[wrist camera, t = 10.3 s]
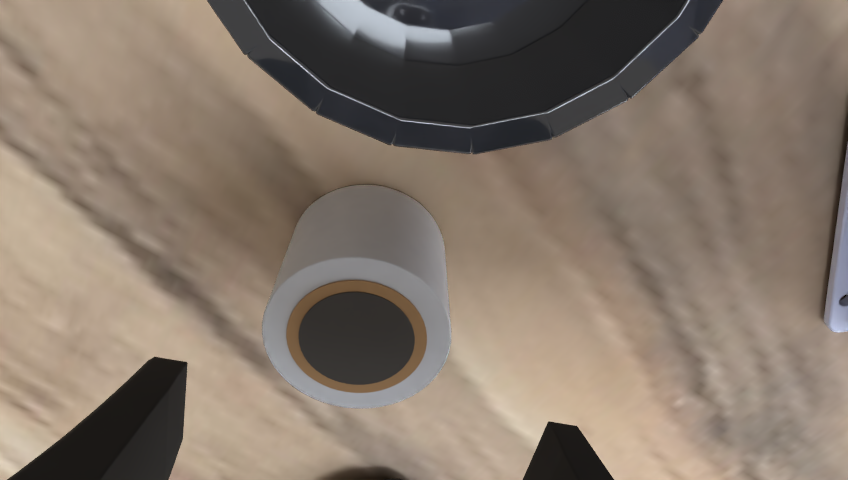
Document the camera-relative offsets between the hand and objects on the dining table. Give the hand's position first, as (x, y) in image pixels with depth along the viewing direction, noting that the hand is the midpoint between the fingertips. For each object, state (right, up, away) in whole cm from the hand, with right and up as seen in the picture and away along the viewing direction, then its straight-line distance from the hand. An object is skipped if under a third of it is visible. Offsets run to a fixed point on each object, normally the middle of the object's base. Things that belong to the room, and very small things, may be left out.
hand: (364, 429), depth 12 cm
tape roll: (-1, +3, +10) cm, 10 cm away
